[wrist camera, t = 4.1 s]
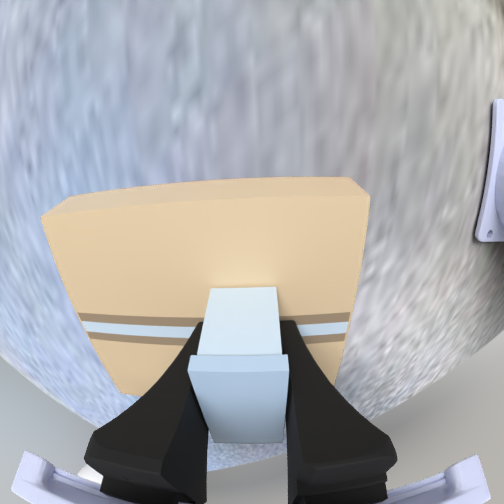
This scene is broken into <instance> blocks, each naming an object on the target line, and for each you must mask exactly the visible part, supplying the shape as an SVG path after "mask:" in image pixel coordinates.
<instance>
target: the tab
mask: <svg viewBox="0 0 504 504" xmlns="http://www.w3.org/2000/svg"><path fill="white" fill-rule="evenodd" d="M188 374H189V377H190V380H191V382H192V385H193V388H194V391H195V394H196V397H197V399H198V402H199V405H200V408H201V410H202V413H203V416H204V418H205V421H206V423H207V426H208V429H209V431H210V434H211V436H212V439H213V441H214V443H245V444H253V443H282V442H283V433H284V423H285V413H286V402H287V391H288V379H289V364H288V354H287V355H282V347H281V335H280V323H279V312H278V301H277V290H276V287H249V288H211V290H210V294H209V299H208V304H207V308H206V313H205V318H204V323H203V327H202V332H201V337H200V342H199V347H198V352H197V355H191V357H190V362H189V366H188Z"/></svg>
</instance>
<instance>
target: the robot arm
mask: <svg viewBox="0 0 504 504" xmlns="http://www.w3.org/2000/svg"><path fill="white" fill-rule="evenodd" d="M487 233H488V234H487ZM475 237H476V238H477V239H478V240H479V241H480V242H502V241H504V100H503V99H498V98H496V99H495V100H494V102H493V119H492V135H491V147H490V156H489V164H488V171H487V178H486V184H485V190H484V195H483V200H482V205H481V210H480V215H479V219H478V223H477V227H476V231H475ZM203 323H204V322H199V323H198V324H197V325H196V327H195V329H194V331H193V332H192V334H191V336H190V337H189V339H188V340H187V342H186V344H185V345H184V347H183V348H182V349H181V351H180V352H179V354H178V355H177V357H176V358H175V360H174V361H173V362H172V363H171V365H170V366H169V367H168V369H167V370H166V371H165V372H164V374H163V375H162V376H161V377H160V378H159V379H158V381H157V382H156V383H155V384H154V385H153V386H152V387H151V388H150V389H149V390H148V391H147V392H146V393H145V394H144V395H143V396H142V397H141V398H140V399H139V400H138V401H136V402H135V403H134V404H133V405H132V406H130V407H129V408H128V409H127V410H125V411H124V412H123V413H121V414H120V415H119V416H118V417H116V418H115V419H113V420H112V421H110V422H109V423H107V424H105V425H104V426H102V427H101V428H99V429H97V430H95V431H94V432H93V434H92V436H91V438H90V441H89V444H88V447H87V450H86V453H85V456H84V460H85V462H86V463H87V464H88V465H89V466H90V467H91V468H93V469H94V470H95V471H97V472H98V473H100V474H101V475H102V476H103V479H102V483H101V484H99V483H96V482H93V481H90V480H87V479H84V478H82V477H79V476H76V475H74V474H71V473H69V472H66V471H64V470H61V469H59V468H57V467H54V465H53V464H51V463H50V462H48V461H47V460H45V459H44V458H42V457H40V456H38V455H35V454H33V453H31V452H29V451H27V450H25V452H24V454H23V457H22V459H21V462H20V465H19V468H18V470H17V473H16V477H15V479H14V482H13V485H12V488H11V490H12V492H14V493H15V494H17V495H18V496H20V497H22V498H23V499H25V500H27V501H28V502H30V503H31V504H204V503H205V502H206V501H207V497H206V496H207V495H206V494H207V493H206V477H207V448H208V431H209V429H208V426H207V423H206V421H205V418H204V416H203V413H202V410H201V408H200V405H199V402H198V399H197V397H196V394H195V391H194V388H193V385H192V382H191V380H190V377H189V374H188V366H189V362H190V357H191V355H197V352H198V347H199V342H200V337H201V332H202V327H203ZM279 323H280V335H281V347H282V355H287V354H288V364H289V379H288V391H287V402H286V413H285V419H286V432H287V456H288V458H287V459H288V504H483V503H485V502H486V501H488V500H489V499H490V498H491V496H490V493H489V489H488V486H487V482H486V479H485V476H484V472H483V469H482V466H481V463H480V460H479V457H478V454H474V455H472V456H470V457H468V458H466V459H464V460H461V461H460V462H457V463H455V464H453V465H451V466H450V467H449V468H447V469H446V470H445V471H444V472H441V473H439V474H437V475H434V476H431V477H428V478H426V479H423V480H420V481H417V482H414V483H411V484H408V485H405V486H402V487H398V488H395V489H391V490H388V491H387V490H386V485H385V482H386V481H387V475H386V472H387V471H388V470H389V469H390V468H391V467H392V466H393V465H394V464H395V463H396V461H397V454H396V451H395V448H394V446H393V444H392V441H391V439H390V437H389V436H388V435H386V434H385V433H384V432H382V431H381V430H379V429H378V428H377V427H375V426H374V425H373V424H372V423H370V422H369V421H368V420H367V419H366V418H364V417H363V416H362V415H361V414H360V413H359V412H358V411H357V410H356V409H355V408H354V407H353V406H352V405H350V404H349V403H348V402H347V401H346V400H345V399H344V397H343V396H342V395H341V394H340V393H339V392H338V391H337V390H336V388H335V387H334V386H333V385H332V384H331V382H330V381H329V380H328V378H327V377H326V376H325V374H324V373H323V372H322V370H321V369H320V367H319V366H318V364H317V363H316V361H315V360H314V358H313V356H312V355H311V353H310V351H309V350H308V348H307V346H306V344H305V342H304V340H303V338H302V336H301V334H300V332H299V330H298V327H297V325H296V322H295V321H294V320H284V321H279Z"/></svg>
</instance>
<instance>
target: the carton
mask: <svg viewBox="0 0 504 504" xmlns="http://www.w3.org/2000/svg"><path fill="white" fill-rule="evenodd" d="M369 206H370V196H369V195H368V194H367V193H366V192H365V191H364V190H363V189H362V188H361V187H360V186H358V185H357V184H356V183H355V182H354V181H353V180H352V179H351V178H349V177H265V178H239V179H221V180H205V181H192V182H179V183H168V184H158V185H148V186H139V187H131V188H123V189H115V190H107V191H100V192H93V193H87V194H80V195H74V196H70V197H68V198H67V199H65V200H64V201H62V202H61V203H59V204H58V205H57V206H55V207H54V208H52V209H51V210H49V211H48V212H47V213H45V214H44V215H42V216H41V221H42V224H43V227H44V231H45V234H46V237H47V240H48V243H49V246H50V249H51V252H52V255H53V257H54V260H55V263H56V266H57V268H58V271H59V274H60V276H61V279H62V281H63V284H64V286H65V288H66V291H67V293H68V295H69V298H70V300H71V302H72V305H73V307H74V309H75V311H76V313H77V315H78V318H79V320H80V322H81V324H82V326H83V328H84V330H85V332H86V334H87V336H88V338H89V340H90V342H91V344H92V345H93V347H94V349H95V351H96V353H97V355H98V356H99V358H100V360H101V362H102V363H103V365H104V367H105V369H106V370H107V372H108V374H109V375H110V377H111V379H112V380H113V382H114V384H115V385H116V387H117V388H118V390H119V391H120V393H122V394H129V395H136V396H143V395H144V394H145V393H146V392H147V391H148V390H149V389H150V388H151V387H152V386H153V385H154V384H155V383H156V382H157V381H158V379H159V378H160V377H161V376H162V375H163V374H164V372H165V371H166V370H167V369H168V367H169V366H170V365H171V363H172V362H173V361H174V360H175V358H176V357H177V355H178V354H179V352H180V351H181V349H182V348H183V347H184V345H185V344H186V342H187V340H188V339H189V337H190V336H191V334H192V332H193V331H194V329H195V327H196V325H197V324H198V323H199V322H204V318H205V313H206V308H207V304H208V299H209V294H210V290H211V288H249V287H276V290H277V301H278V312H279V321H284V320H294V321H295V322H296V325H297V327H298V330H299V332H300V334H301V336H302V338H303V340H304V342H305V344H306V346H307V348H308V350H309V351H310V353H311V355H312V356H313V358H314V360H315V361H316V363H317V364H318V366H319V367H320V369H321V370H322V372H323V373H324V374H325V376H326V377H327V378H328V380H329V381H330V382H331V384H332V385H333V386H334V384H335V381H336V377H337V374H338V370H339V367H340V363H341V359H342V355H343V351H344V347H345V343H346V339H347V335H348V330H349V326H350V322H351V317H352V312H353V308H354V303H355V298H356V292H357V287H358V282H359V276H360V270H361V264H362V258H363V252H364V245H365V238H366V231H367V223H368V215H369Z"/></svg>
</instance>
